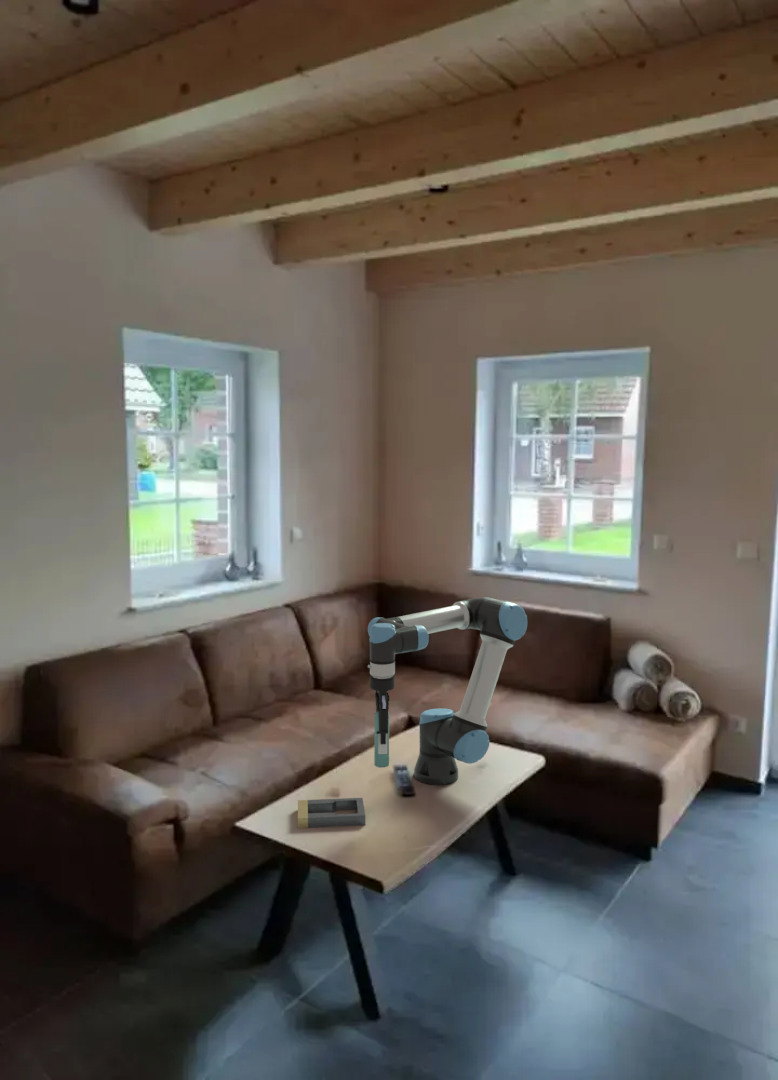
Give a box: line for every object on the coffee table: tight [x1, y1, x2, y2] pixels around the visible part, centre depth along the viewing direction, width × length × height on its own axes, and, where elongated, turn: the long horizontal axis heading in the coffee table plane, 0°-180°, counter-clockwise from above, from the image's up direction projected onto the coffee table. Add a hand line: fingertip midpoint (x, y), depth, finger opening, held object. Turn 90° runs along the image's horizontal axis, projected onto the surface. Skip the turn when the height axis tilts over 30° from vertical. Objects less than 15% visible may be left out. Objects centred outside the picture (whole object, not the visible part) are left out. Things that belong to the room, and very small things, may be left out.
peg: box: [373, 711, 390, 768], centre depth 238 cm, size 4×4×16 cm
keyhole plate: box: [297, 797, 366, 829], centre depth 239 cm, size 20×12×3 cm, turn 96°
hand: (381, 750), depth 238 cm, fingers closed on peg, 4 cm apart
